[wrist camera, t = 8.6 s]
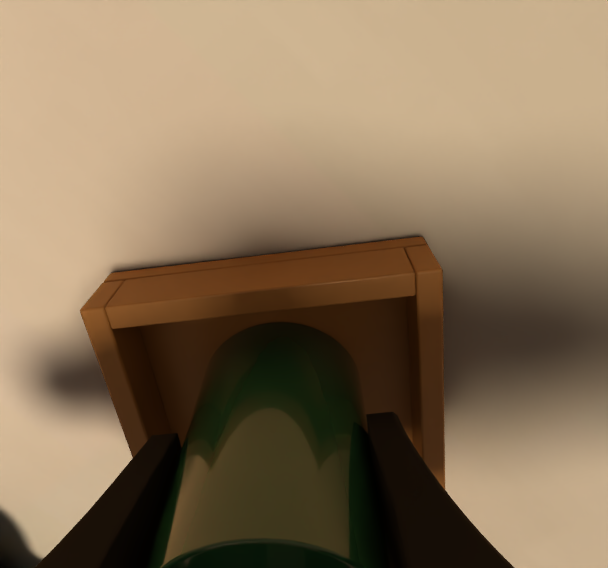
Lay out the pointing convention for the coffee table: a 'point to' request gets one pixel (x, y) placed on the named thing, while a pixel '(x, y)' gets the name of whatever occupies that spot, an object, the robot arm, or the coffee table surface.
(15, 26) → the coffee table surface
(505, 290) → the coffee table surface
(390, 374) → the tray
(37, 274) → the coffee table surface
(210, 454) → the green bottle
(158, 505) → the robot arm
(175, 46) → the coffee table surface
